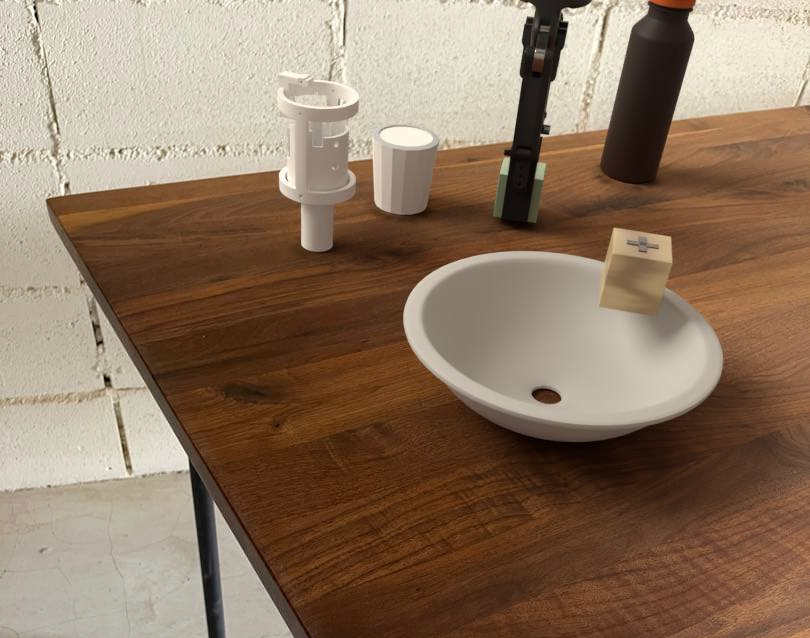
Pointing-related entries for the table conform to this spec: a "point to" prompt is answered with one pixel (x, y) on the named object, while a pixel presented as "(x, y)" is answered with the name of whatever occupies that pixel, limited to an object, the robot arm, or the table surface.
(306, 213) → the white slotted cylindrical holder
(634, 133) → the bottle
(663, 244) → the maple block
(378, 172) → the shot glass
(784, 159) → the table surface
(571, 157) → the table surface
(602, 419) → the sink basin
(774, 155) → the table surface
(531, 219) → the sage block
